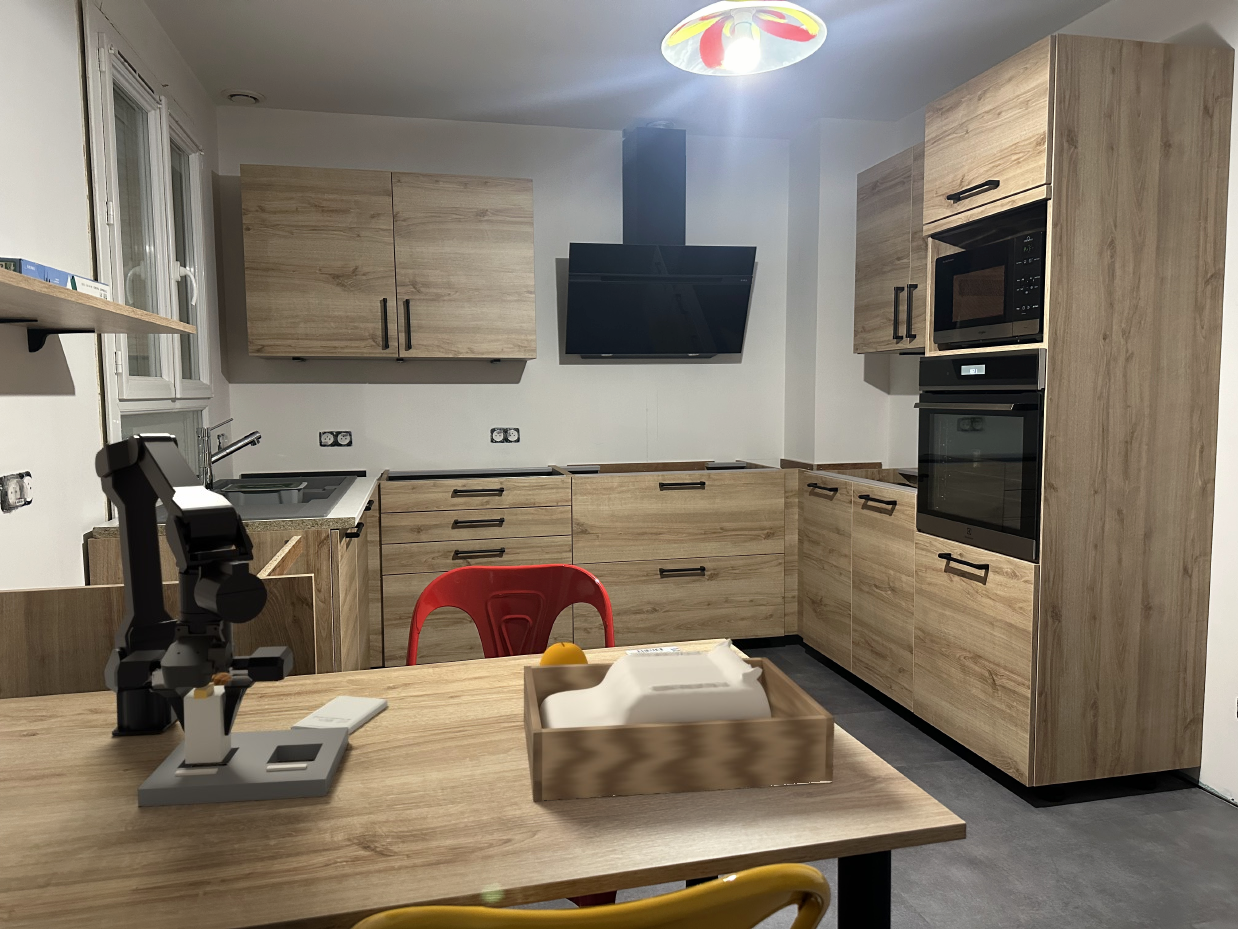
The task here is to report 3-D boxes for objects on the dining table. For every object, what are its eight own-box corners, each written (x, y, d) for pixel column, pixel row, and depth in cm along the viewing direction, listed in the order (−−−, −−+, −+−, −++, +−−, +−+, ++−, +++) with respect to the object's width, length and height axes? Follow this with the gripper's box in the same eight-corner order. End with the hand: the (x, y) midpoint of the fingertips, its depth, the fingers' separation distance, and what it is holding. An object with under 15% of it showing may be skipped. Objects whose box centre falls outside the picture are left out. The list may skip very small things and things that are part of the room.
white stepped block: (787, 781, 102) (789, 673, 101) (540, 796, 97) (540, 683, 96) (740, 723, 121) (742, 632, 120) (531, 734, 116) (531, 638, 115)
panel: (138, 807, 93) (137, 786, 93) (188, 749, 109) (188, 732, 108) (325, 796, 96) (325, 776, 96) (348, 741, 112) (348, 724, 112)
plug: (183, 766, 98) (181, 691, 98) (196, 750, 103) (195, 678, 102) (219, 764, 99) (218, 689, 99) (231, 748, 104) (229, 677, 103)
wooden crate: (533, 801, 95) (533, 732, 95) (523, 721, 120) (523, 666, 119) (832, 782, 101) (834, 717, 100) (764, 709, 125) (766, 657, 125)
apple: (587, 697, 130) (587, 650, 130) (536, 696, 130) (536, 649, 130) (589, 681, 138) (590, 636, 138) (542, 680, 138) (542, 635, 138)
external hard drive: (387, 709, 126) (344, 741, 113) (337, 705, 127) (290, 736, 115) (387, 699, 125) (344, 729, 113) (337, 695, 127) (290, 724, 115)
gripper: (90, 627, 91) (94, 767, 92) (270, 623, 94) (272, 758, 95) (132, 604, 102) (136, 729, 103) (293, 600, 105) (294, 722, 106)
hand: (208, 735), depth 101 cm, fingers closed on plug, 4 cm apart
